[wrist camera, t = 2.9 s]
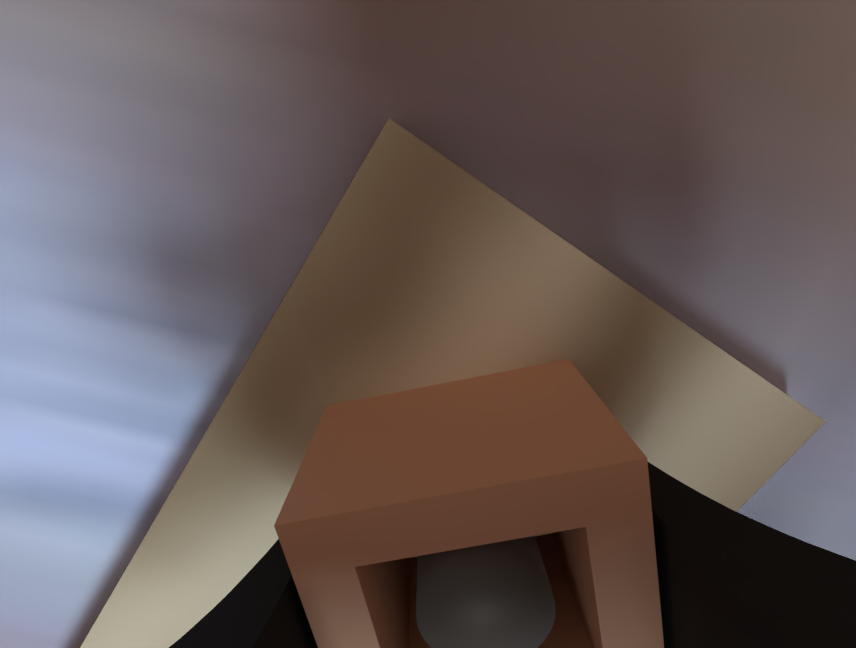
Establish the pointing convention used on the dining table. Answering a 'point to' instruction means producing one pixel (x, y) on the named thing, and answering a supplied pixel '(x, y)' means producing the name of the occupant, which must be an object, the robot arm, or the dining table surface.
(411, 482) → the collar
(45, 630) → the dining table surface
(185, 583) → the board
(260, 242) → the dining table surface
